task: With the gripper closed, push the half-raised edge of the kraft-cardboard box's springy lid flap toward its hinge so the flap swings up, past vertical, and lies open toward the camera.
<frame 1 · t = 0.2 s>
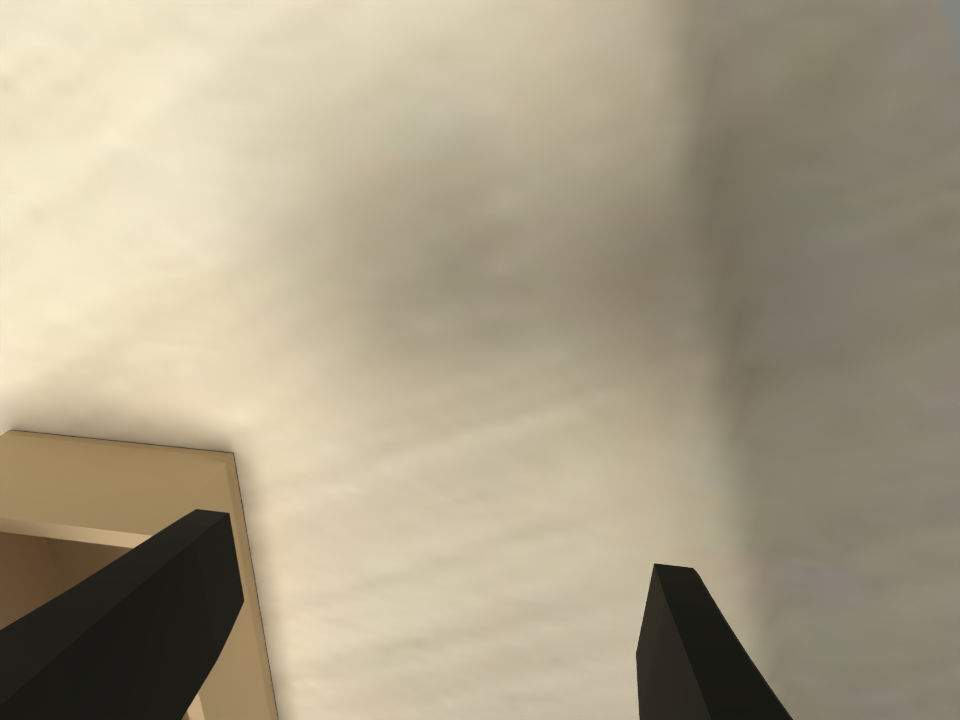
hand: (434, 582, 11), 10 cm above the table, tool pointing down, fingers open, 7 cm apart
kraft box: (160, 599, 27), on the table
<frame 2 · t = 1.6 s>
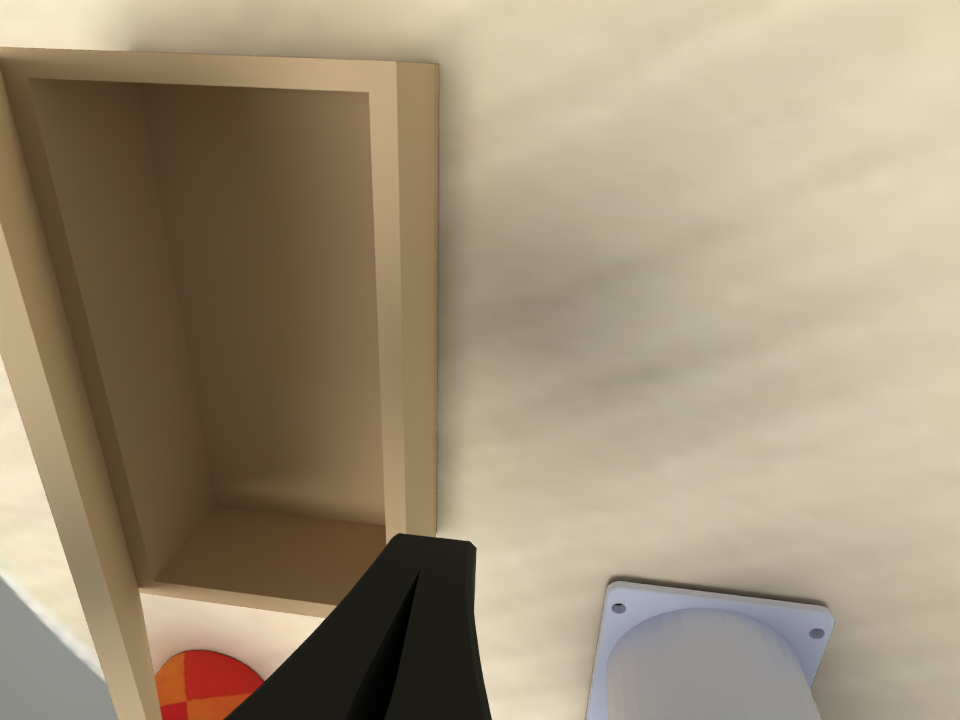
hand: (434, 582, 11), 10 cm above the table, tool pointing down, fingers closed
kraft box: (303, 327, 21), on the table
paper cup: (218, 687, 29), on the table
lid flap: (78, 458, 13), point 8 cm above the table, hinge at 50.0°
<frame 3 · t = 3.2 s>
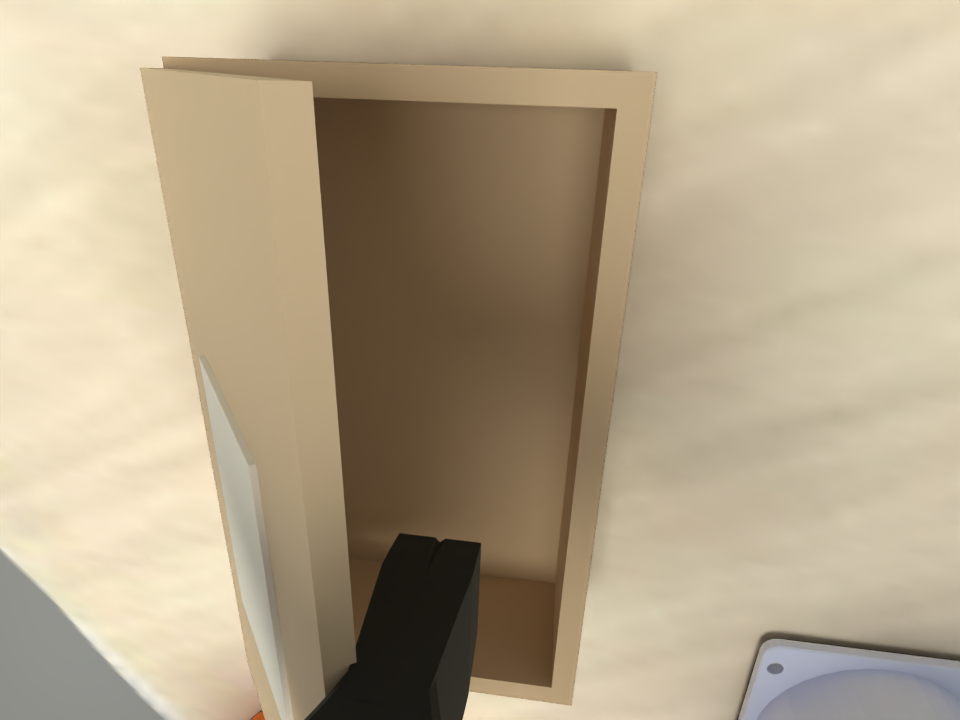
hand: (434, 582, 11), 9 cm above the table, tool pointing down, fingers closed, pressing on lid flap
kraft box: (443, 364, 18), on the table
lid flap: (258, 544, 11), point 8 cm above the table, hinge at 51.4°, touching gripper
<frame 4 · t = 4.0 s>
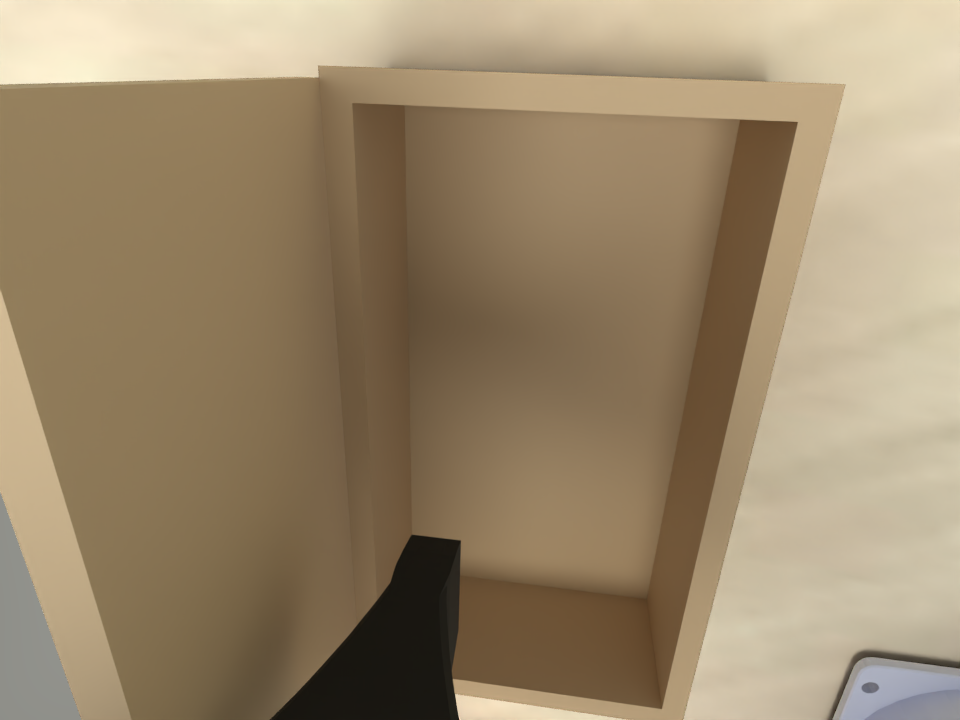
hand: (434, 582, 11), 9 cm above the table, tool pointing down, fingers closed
kraft box: (544, 377, 18), on the table
lid flap: (283, 588, 10), point 9 cm above the table, hinge at 80.7°, touching gripper
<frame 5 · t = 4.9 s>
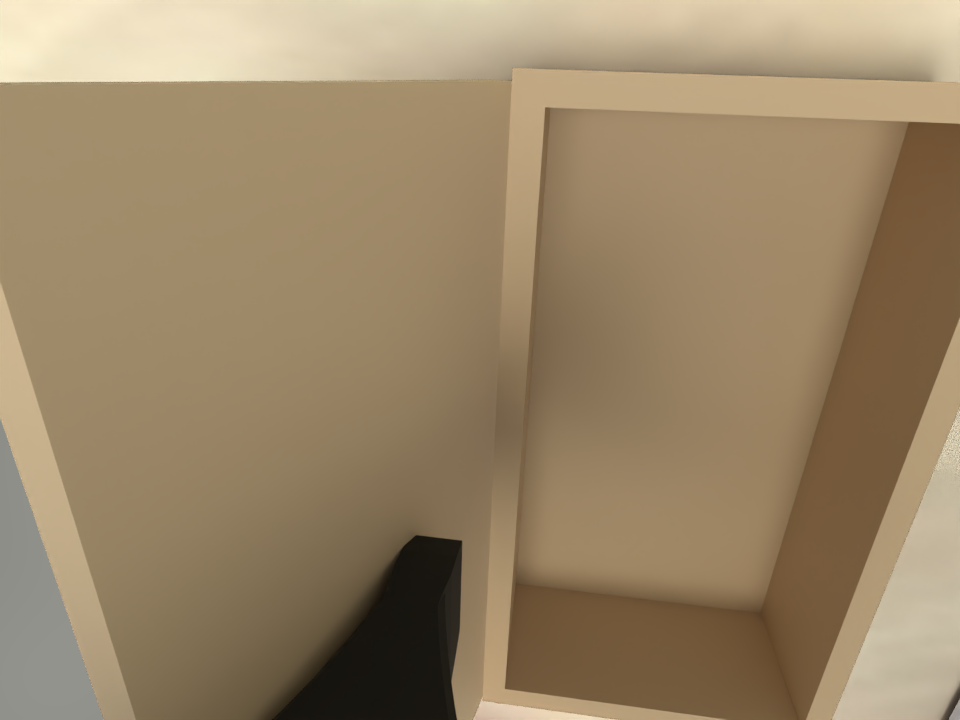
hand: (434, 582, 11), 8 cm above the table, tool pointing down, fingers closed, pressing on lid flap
kraft box: (669, 387, 18), on the table
lid flap: (389, 601, 10), point 9 cm above the table, hinge at 103.0°, touching gripper
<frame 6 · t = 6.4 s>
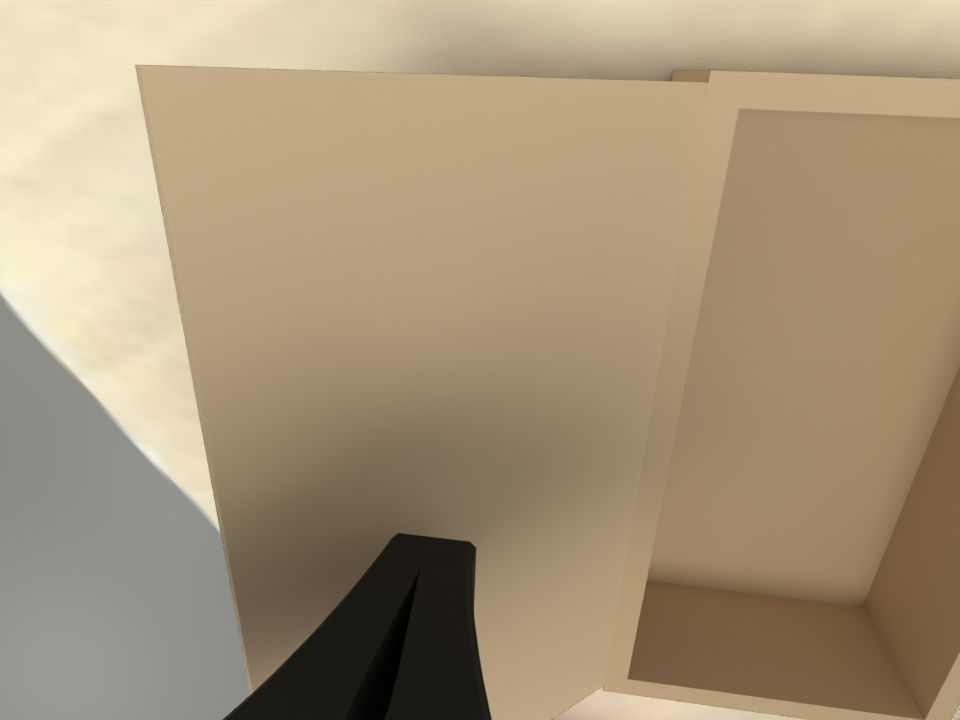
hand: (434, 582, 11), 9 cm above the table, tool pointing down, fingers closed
kraft box: (786, 383, 18), on the table
lid flap: (473, 513, 12), point 7 cm above the table, hinge at 139.2°
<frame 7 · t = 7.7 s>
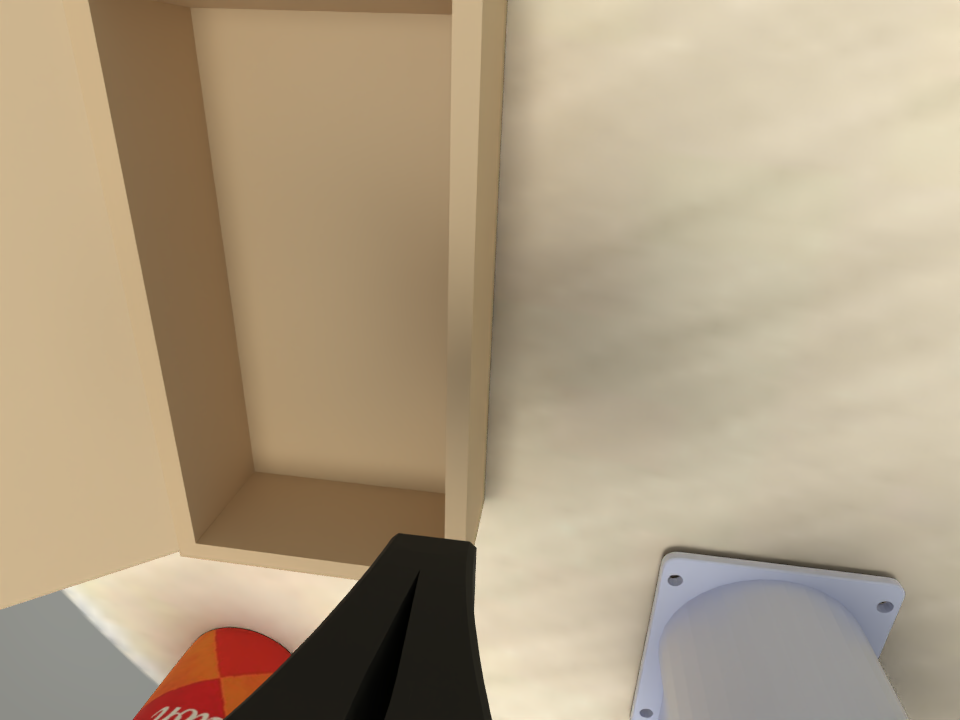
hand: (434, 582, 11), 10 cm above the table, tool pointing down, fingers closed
kraft box: (353, 279, 20), on the table
paper cup: (248, 667, 28), on the table
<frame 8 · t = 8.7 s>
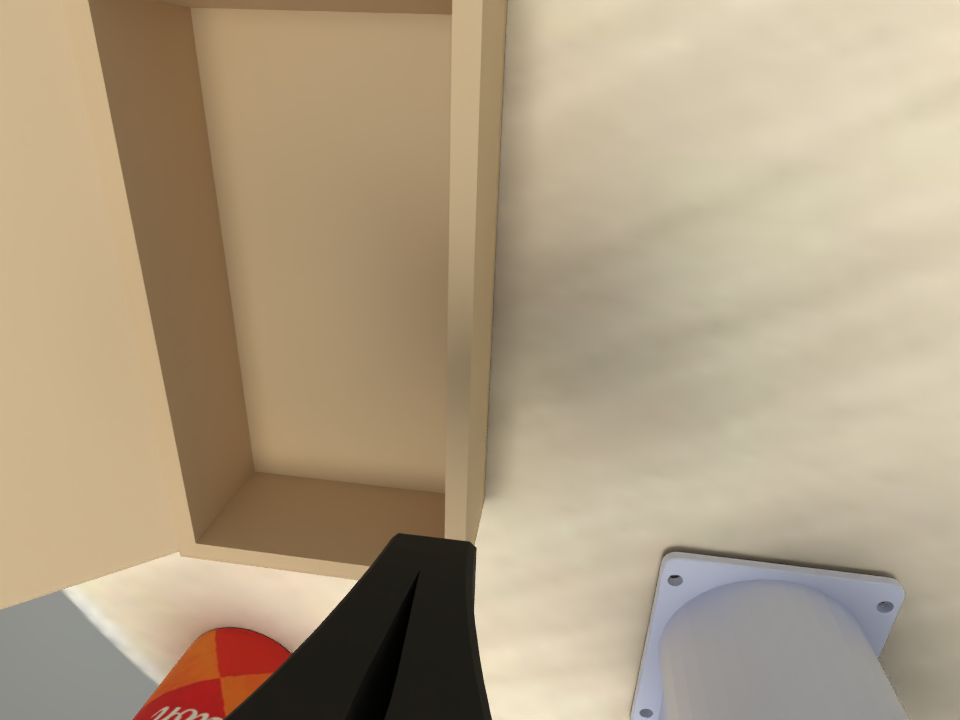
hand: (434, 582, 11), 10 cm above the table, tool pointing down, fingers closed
kraft box: (353, 279, 20), on the table
paper cup: (248, 667, 28), on the table
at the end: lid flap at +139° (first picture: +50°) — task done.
